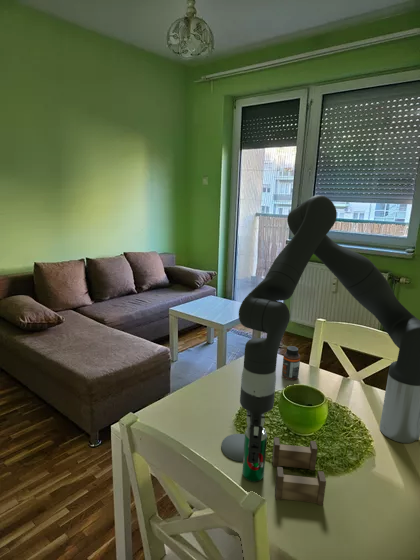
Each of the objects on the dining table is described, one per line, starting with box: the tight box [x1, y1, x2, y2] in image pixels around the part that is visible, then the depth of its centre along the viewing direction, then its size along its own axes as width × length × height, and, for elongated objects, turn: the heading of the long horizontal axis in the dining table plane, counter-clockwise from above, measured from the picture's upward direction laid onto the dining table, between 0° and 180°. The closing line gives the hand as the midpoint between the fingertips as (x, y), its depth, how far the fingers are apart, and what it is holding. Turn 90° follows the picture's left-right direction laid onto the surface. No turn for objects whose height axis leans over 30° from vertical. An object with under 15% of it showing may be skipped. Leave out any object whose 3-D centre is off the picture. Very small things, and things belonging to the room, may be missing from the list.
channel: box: [271, 436, 327, 506], centre depth 83 cm, size 10×13×6 cm
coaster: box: [221, 433, 245, 463], centre depth 94 cm, size 10×10×1 cm
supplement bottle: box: [281, 345, 301, 381], centre depth 131 cm, size 6×6×11 cm
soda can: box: [241, 427, 268, 483], centre depth 84 cm, size 5×5×12 cm
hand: (252, 448), depth 84 cm, fingers open, 8 cm apart
